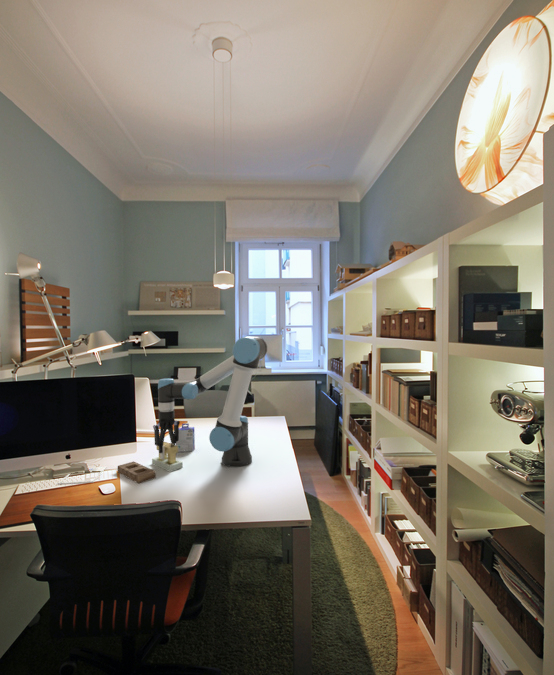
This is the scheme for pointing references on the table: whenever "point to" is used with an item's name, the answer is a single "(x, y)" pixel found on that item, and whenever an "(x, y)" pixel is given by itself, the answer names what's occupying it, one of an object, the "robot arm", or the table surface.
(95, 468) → the photo frame
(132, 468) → the walnut rail
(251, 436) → the table surface
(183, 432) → the ink cartridge box
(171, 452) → the tan block
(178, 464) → the holder block
